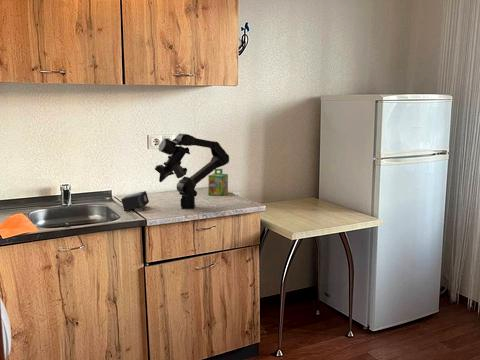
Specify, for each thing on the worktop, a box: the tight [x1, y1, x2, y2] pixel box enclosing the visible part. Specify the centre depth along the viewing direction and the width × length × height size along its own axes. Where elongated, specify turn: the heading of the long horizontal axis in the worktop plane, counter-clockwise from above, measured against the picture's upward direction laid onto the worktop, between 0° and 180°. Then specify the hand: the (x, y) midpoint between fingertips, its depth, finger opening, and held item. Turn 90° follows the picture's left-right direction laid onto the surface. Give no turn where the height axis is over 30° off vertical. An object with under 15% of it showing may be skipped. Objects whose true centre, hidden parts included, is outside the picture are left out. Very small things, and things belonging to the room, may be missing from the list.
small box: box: [121, 190, 150, 212], centre depth 235 cm, size 11×6×10 cm
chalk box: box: [207, 168, 229, 197], centre depth 269 cm, size 9×9×15 cm
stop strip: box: [134, 204, 147, 212], centre depth 235 cm, size 2×12×1 cm, turn 178°
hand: (160, 181), depth 235 cm, fingers closed
